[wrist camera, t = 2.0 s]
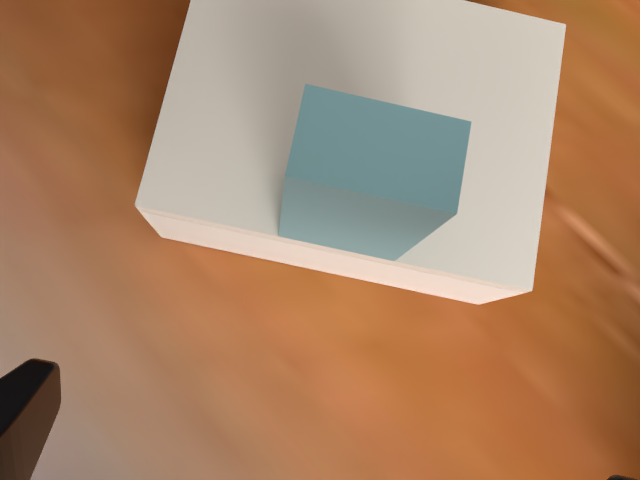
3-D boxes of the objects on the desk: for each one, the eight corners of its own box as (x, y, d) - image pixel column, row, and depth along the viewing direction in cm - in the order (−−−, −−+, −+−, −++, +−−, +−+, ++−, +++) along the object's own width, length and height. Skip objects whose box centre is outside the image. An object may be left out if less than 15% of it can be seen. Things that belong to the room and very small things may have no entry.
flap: (523, 293, 19) (660, 258, 12) (138, 210, 18) (69, 128, 12) (557, 34, 21) (691, -115, 14) (209, -49, 20) (182, -243, 14)
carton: (478, 304, 23) (523, 293, 19) (161, 237, 22) (139, 211, 18) (510, 86, 24) (556, 35, 21) (218, 19, 24) (208, -48, 20)
